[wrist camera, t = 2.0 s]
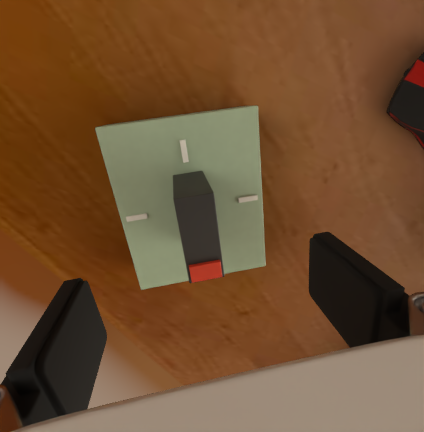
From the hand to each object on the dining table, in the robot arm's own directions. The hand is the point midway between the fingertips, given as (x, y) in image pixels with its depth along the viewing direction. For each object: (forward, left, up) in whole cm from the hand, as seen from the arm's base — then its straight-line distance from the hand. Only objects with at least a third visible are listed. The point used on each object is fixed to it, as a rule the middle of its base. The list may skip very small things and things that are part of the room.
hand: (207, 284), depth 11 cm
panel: (0, 0, -11) cm, 11 cm away
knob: (0, 0, -8) cm, 8 cm away
